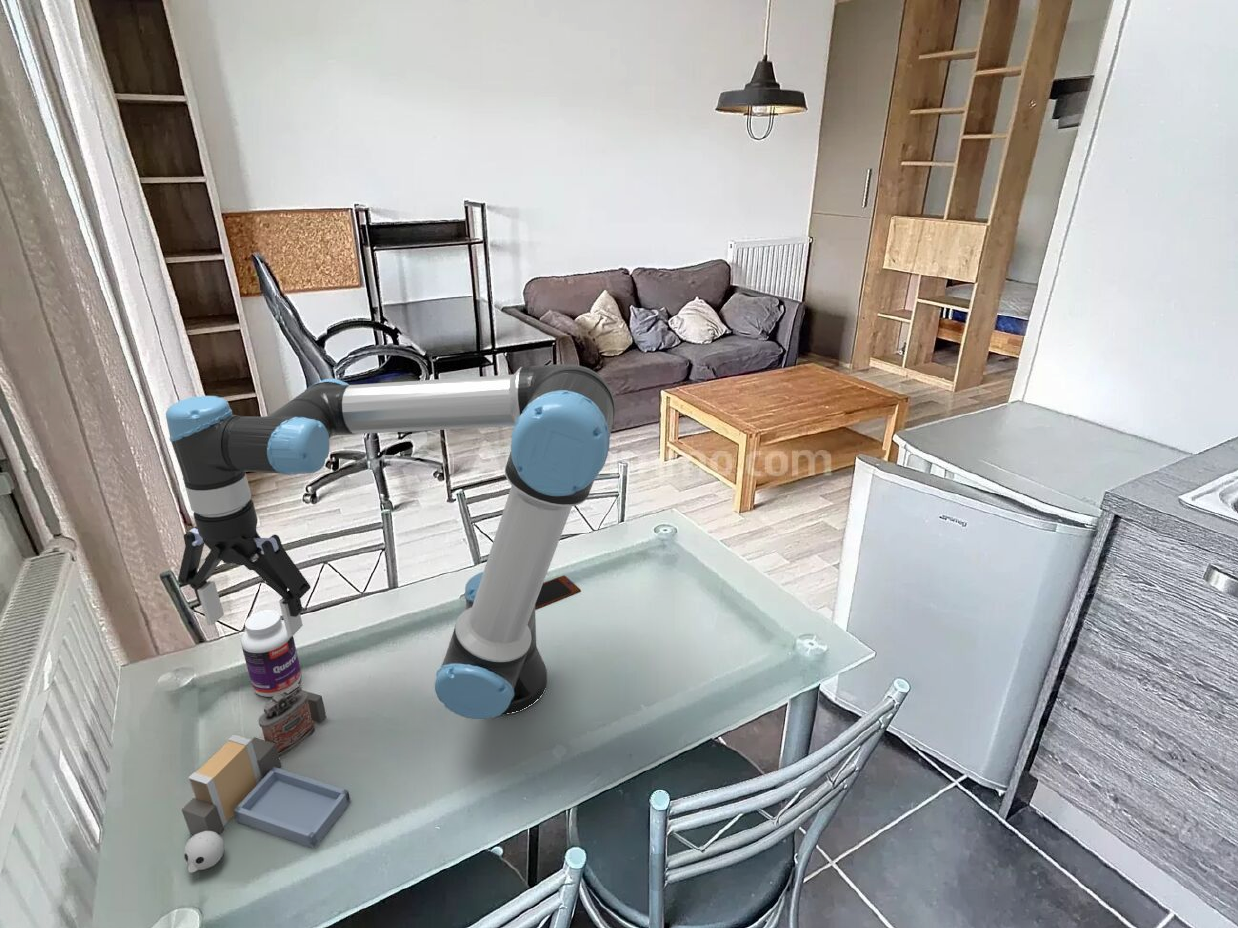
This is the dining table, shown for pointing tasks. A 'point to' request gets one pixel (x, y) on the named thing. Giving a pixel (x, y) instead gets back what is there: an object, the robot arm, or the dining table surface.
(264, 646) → the pill bottle
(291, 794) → the tray
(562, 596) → the smartphone
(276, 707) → the lighter
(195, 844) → the figurine
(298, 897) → the dining table surface
